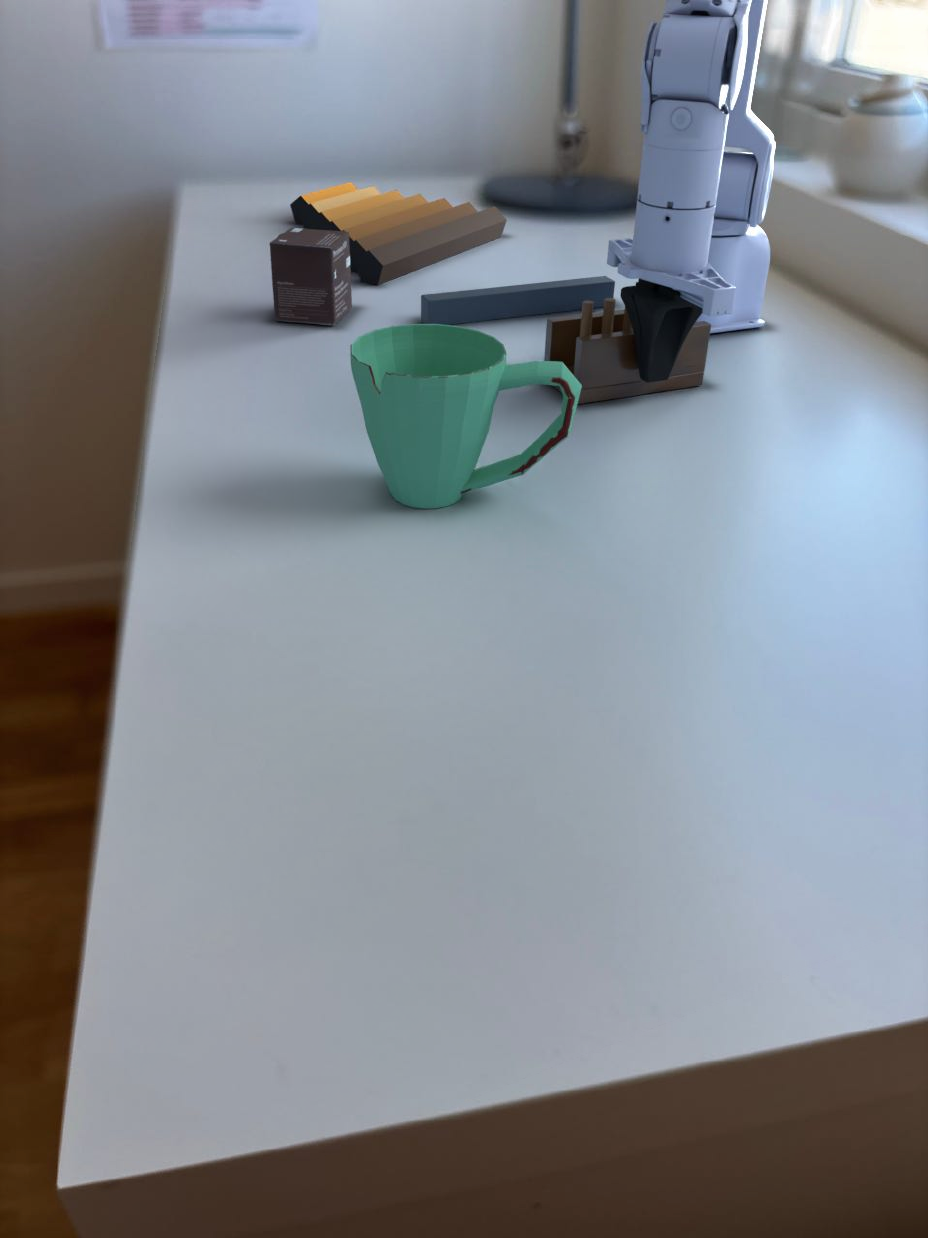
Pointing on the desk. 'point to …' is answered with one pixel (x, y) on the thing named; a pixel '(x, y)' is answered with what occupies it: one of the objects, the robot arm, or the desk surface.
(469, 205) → the ridged wooden panel
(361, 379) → the mug
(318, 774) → the desk surface
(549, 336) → the rack
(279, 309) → the box
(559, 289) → the rail
